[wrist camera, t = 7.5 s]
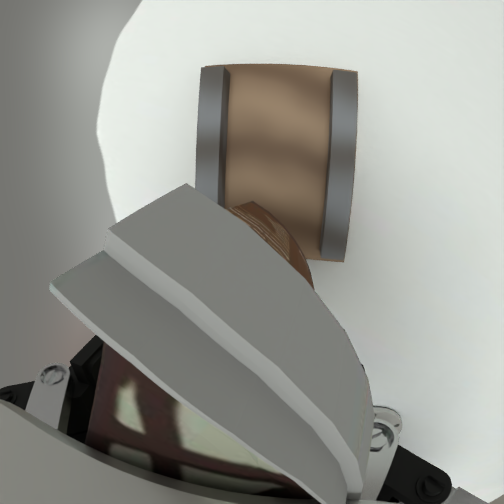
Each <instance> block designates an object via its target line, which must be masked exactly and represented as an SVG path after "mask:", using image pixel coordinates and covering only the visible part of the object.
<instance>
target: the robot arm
mask: <svg viewBox="0 0 504 504" xmlns="http://www.w3.org/2000/svg"><path fill="white" fill-rule="evenodd" d="M344 331H345V330H344ZM103 343H104V341H103V340H102V339H101V338H100V337H99V336H97V335H95V336H94V337H93V338H92V339H91V340H90V341H89V342H88V343H87V344H86V345H85V346H84V347H83V349H81V350H80V351H79V352H78V353H77V355H76V356H75V357H74V358H73V359H72V360H71V361H70V363H71V366H70V367H69V368H68V367H67V366H66V365H64V364H62V363H51V364H49V365H46V366H45V367H43V368H42V369H41V370H40V371H39V373H38V374H37V377H36V380H35V381H32V382H28V383H22V384H17V385H12V386H7V387H4V388H1V389H0V504H321V503H320V502H319V501H318V500H316V499H291V498H278V497H267V496H258V495H250V494H243V493H236V492H230V491H224V490H219V489H214V488H209V487H205V486H200V485H196V484H192V483H188V482H184V481H180V480H176V479H173V478H169V477H166V476H163V475H160V474H156V473H153V472H150V471H147V470H145V469H142V468H139V467H136V466H133V465H131V464H128V463H126V462H123V461H121V460H118V459H116V458H113V457H111V456H109V455H106V454H104V453H102V452H100V451H97V450H95V449H93V448H91V447H89V446H87V445H85V440H86V435H87V431H88V426H89V421H90V416H91V411H92V406H93V402H94V396H95V390H96V385H97V380H98V375H99V370H100V365H101V358H102V351H103ZM361 365H362V364H361ZM362 367H363V365H362ZM363 369H364V367H363ZM364 371H365V370H364ZM373 409H374V415H375V417H374V426H373V434H372V441H371V448H370V454H369V459H368V465H367V470H366V475H365V480H364V484H363V489H362V493H361V497H360V500H346V504H488V503H487V502H485V501H483V500H481V499H479V498H478V497H476V496H474V495H472V494H471V493H469V492H467V491H465V490H464V489H462V488H460V487H458V488H457V489H455V488H454V487H452V483H451V479H450V477H449V476H448V474H447V473H445V472H444V471H443V470H441V469H439V468H437V467H436V466H434V465H432V464H430V463H428V462H427V461H425V460H423V459H421V458H420V457H418V456H416V455H415V454H413V453H411V452H410V451H408V450H406V449H405V448H403V447H401V446H400V445H398V442H399V434H400V432H401V429H402V422H401V419H400V416H399V415H398V414H397V413H396V412H394V411H393V410H390V409H387V408H381V407H373Z"/></svg>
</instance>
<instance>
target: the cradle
mask: <svg viewBox="0 0 504 504" xmlns="http://www.w3.org/2000/svg"><path fill="white" fill-rule="evenodd" d="M357 109H358V71H351V70H344V69H336V68H328V67H318V66H306V65H290V64H229V65H213V66H205V67H203V68H201V76H200V90H199V105H198V123H197V145H196V180H195V189H196V190H197V191H199V192H200V193H202V194H203V195H205V196H206V197H208V198H209V199H211V200H212V201H214V202H215V203H217V204H218V205H220V206H221V207H222V208H224V209H227V208H230V207H234V206H237V205H240V204H243V203H247V202H250V201H254V202H255V203H257V204H258V205H260V206H261V207H263V208H264V209H266V210H267V211H269V212H270V213H271V214H272V215H273V216H275V217H276V218H277V219H278V220H279V221H280V222H281V223H282V224H283V225H284V226H285V227H286V228H287V230H288V231H289V232H290V233H291V235H292V236H293V237H294V239H295V240H296V241H297V243H298V245H299V247H300V249H301V250H302V252H303V254H304V256H305V258H306V259H313V260H324V261H335V262H344V258H345V252H346V245H347V237H348V230H349V222H350V213H351V204H352V194H353V183H354V171H355V156H356V139H357Z"/></svg>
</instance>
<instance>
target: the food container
mask: <svg viewBox="0 0 504 504" xmlns="http://www.w3.org/2000/svg"><path fill="white" fill-rule="evenodd" d="M50 291H51V292H52V293H53V294H54V295H55V296H56V297H57V298H58V299H59V300H60V301H61V302H62V303H63V304H64V305H65V306H66V307H67V308H68V309H69V310H70V311H71V312H72V313H73V314H74V315H75V316H76V317H77V318H78V319H79V320H81V321H82V322H83V323H84V324H85V325H86V326H87V327H88V328H89V329H90V330H92V331H93V332H94V333H95V334H96V335H97V336H99V337H100V338H101V339H102V340H103V341H104V343H103V351H102V358H101V365H100V370H99V375H98V380H97V385H96V390H95V396H94V402H93V406H92V411H91V416H90V421H89V426H88V431H87V435H86V440H85V445H87V446H89V447H91V448H93V449H95V450H97V451H100V452H102V453H104V454H106V455H109V456H111V457H113V458H116V459H118V460H121V461H123V462H126V463H128V464H131V465H133V466H136V467H139V468H142V469H145V470H147V471H150V472H153V473H156V474H160V475H163V476H166V477H169V478H173V479H176V480H180V481H184V482H188V483H192V484H196V485H200V486H205V487H209V488H214V489H219V490H224V491H230V492H236V493H243V494H250V495H258V496H267V497H278V498H291V499H316V500H318V501H319V502H320V503H321V504H346V500H360V497H361V493H362V489H363V484H364V480H365V475H366V470H367V465H368V459H369V454H370V448H371V441H372V434H373V426H374V417H375V415H374V409H373V403H372V397H371V392H370V386H369V381H368V378H367V376H366V374H365V371H364V369H363V367H362V365H361V363H360V361H359V358H358V356H357V354H356V352H355V350H354V348H353V346H352V344H351V342H350V339H349V337H348V335H347V333H346V332H345V331H344V329H343V328H342V327H341V325H340V324H339V323H338V321H337V320H336V319H335V317H334V316H333V315H332V313H331V312H330V311H329V309H328V308H327V307H326V305H325V304H324V303H323V301H322V300H321V299H320V297H319V296H318V295H317V293H316V292H315V291H314V286H313V282H312V277H311V273H310V270H309V267H308V264H307V261H306V258H305V256H304V254H303V252H302V250H301V249H300V247H299V245H298V243H297V241H296V240H295V239H294V237H293V236H292V235H291V233H290V232H289V231H288V230H287V228H286V227H285V226H284V225H283V224H282V223H281V222H280V221H279V220H278V219H277V218H276V217H275V216H273V215H272V214H271V213H270V212H269V211H267V210H266V209H264V208H263V207H261V206H260V205H258V204H257V203H255V202H254V201H250V202H247V203H243V204H240V205H237V206H234V207H230V208H227V209H224V208H222V207H221V206H220V205H218V204H217V203H215V202H214V201H212V200H211V199H209V198H208V197H206V196H205V195H203V194H202V193H200V192H199V191H197V190H196V189H194V188H193V187H191V186H190V185H188V184H187V183H186V184H184V185H182V186H180V187H178V188H176V189H175V190H173V191H171V192H169V193H167V194H166V195H164V196H162V197H160V198H158V199H157V200H155V201H153V202H151V203H150V204H148V205H146V206H145V207H143V208H141V209H139V210H138V211H136V212H134V213H133V214H131V215H129V216H128V217H126V218H125V219H123V220H121V221H120V222H118V223H116V224H115V225H113V226H112V227H110V228H108V231H107V235H106V239H105V243H104V248H103V251H101V252H99V253H98V254H96V255H94V256H92V257H91V258H89V259H87V260H86V261H84V262H82V263H81V264H79V265H77V266H75V267H74V268H72V269H70V270H69V271H67V272H65V273H64V274H62V275H61V276H59V277H57V278H56V279H54V280H53V281H51V282H50Z"/></svg>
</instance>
